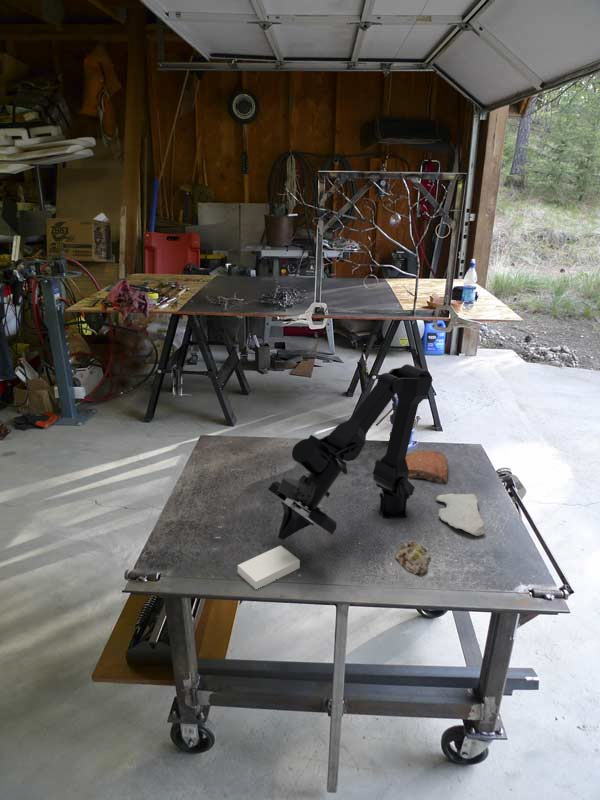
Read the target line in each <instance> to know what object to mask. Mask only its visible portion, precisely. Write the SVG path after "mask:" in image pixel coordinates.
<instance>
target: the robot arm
mask: <svg viewBox="0 0 600 800" xmlns="http://www.w3.org/2000/svg"><path fill="white" fill-rule="evenodd" d="M376 381H377V382H376V384H375V385H374V386H373V387H372V389H371V390H370V392H369V393H368V395H367V396H366V397H365V398H364V400H363V401H362V403H361V404H360V405H359V406H358V407H357V408H356V411H354V412H353V414H352V415H351V416H350V417H349V419H348V420H346V421H344V422H341V423H339V424H338V425H337V426H336V427H335V428H334V429H333V430H332V431H331V432H330V433H329V434H328V435H325V436H323V437H322V438H318V437H316V436H314V435H313V434H311V435H309V437H307V438H305V439H301V440H299V441H298V442H297V443H295V445H294V447H292V448H293V449H292V451H291V458H292V459H293V460H294V462H296V463H297V464H298V465H299V466H301V467H302V468H303V469H305V470H306V471H307V472H309V473H308V475H307V476H306V475H304V474H303V475H302V476H300V478H299V479H295V478H291V477H290V478H289V477H282V479H281V481H280V482H279V481H276V480H275V481H274V482H272V483H271V484H270V485H269V487H268V489H267V490H268V491H270V492H271V493H272V494H274V495H275V496H277V497H278V498H279V499H281V500H282V501H281V500H280V501H281V505H282V507H283V516H282V520H281V524H280V529H279V532H278V536H277V537H278V539H279V540H281V541H284V540H285V539H287V538H289V537H290V536H292V535H294V534H295V533H297V532H298V531H301V530H303V529H305V528H307V527H309V526H310V525H311V526H312V527H314V525H315V524H316V525H318V526H319V527H320V528H322V529H323V530H325V531H327V532H328V533H329V534H331V535H333V534H334V533H335V531H336V530H337V525H338V524H337V521H336V520H334V519H333V518H331V517H330V516H328V514H326V513H325V512H323V511H322V510H321V508H319V505H320V503H321V502H322V500H323V499H324V498H325V497H326V498H329V496H330V495H331V492H329V490H330V489H331V487H332V485H333V484H334V483H335V482H336V479H338V477H339V476H340V474H341V473H342V474H344V475H345V476H346V475H347V474H348V469H347V462H351V461H354V460H356V459H357V458H358V456H359V455H360V453H361V452H362V450H363V448H364V447H365V444H366V441H367V440H366V439H367V433H368V431H369V430H370V429H371V427H372V426H373V425H374V423H375V422H376V421H377V420H378V418H379V417H380V416H381V414H382V413H383V411H384V410H385V409H386V407H387V406H388V405H389V403H390V402H391V401H392V399H393V398H394V397H395V395H396V397H397V405H396V409H395V413H394V419H393V423H392V427H391V430H390V434H389V435H390V436H389V438H388V443H387V448H386V452H385V454H384V455H383V456H382V457H381V458H380V459H377V460H376V461H375V462H374V468H373V471H372V475H373V476H372V477H373V480H374V482H375V486H376V487H377V488H379V489H380V493H378V500H377V507H378V512H380V513H381V517H382V518H383V519H384V518H385V519H388V518H407V517H408V513H407V511H406V510H407V504H408V503H407V501H408V500H410V497H411V496H412V495H413V494H414V492H415V488H416V487H415V486H414V485H413V484H412V482H410V481H409V478H408V474H409V469H408V466H407V462H406V455H408V454H407V453H408V449H409V445H410V441H411V437H412V432H413V428H414V424H415V420H416V416H417V412H418V408H419V406H420V403H422V402H423V401H424V400H425V398H427V396H428V395H429V392H430V389H431V386H432V384H433V376H432V375H431V373H430V372H429V371H428V370H426V369H422V368H419V367H417V366H414V365H412V364H404V365H402V366H401V367H395V368H392V369H390V370H389V371H388V372H384V373H381V374H380V375H379V377H378V378H377V380H376ZM306 507H307V508H306ZM314 523H315V524H314Z"/></svg>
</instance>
